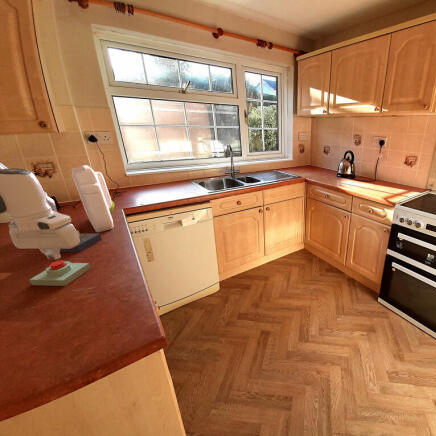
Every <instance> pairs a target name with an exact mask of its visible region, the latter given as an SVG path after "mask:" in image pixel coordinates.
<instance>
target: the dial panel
mask: <svg viewBox="0 0 436 436" xmlns="http://www.w3.org/2000/svg"><path fill="white" fill-rule="evenodd" d="M80 236H81V237H79V239H80V243H79V244H78V245H77V246H75V247H73V248H71V249H60V252H59V253H61V252H67V253H68V252H69V253H70V252H71V253H79V252H81V253H82V252H83V251H84V250H87V249H88V248H90V247H91V246H94V245H95V244H97V243H98V242H100V241H102V239H103V238H102V236H101V234H100V233H80Z"/></svg>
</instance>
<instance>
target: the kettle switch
mask: <svg viewBox="0 0 436 436" xmlns="http://www.w3.org/2000/svg"><path fill="white" fill-rule="evenodd" d="M64 262H65V260H61V259H60V260H56V261H53V262H52V263H50V264H49V267H51V269H52V270H57V269H60V268H63V267H64V266H66V265H65V263H64Z"/></svg>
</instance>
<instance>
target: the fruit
mask: <svg viewBox="0 0 436 436" xmlns="http://www.w3.org/2000/svg"><path fill="white" fill-rule="evenodd" d="M111 202H112V206H111V208H109V211H110V214H113V212H114V210H115V202H114V201H113V200H111Z"/></svg>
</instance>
